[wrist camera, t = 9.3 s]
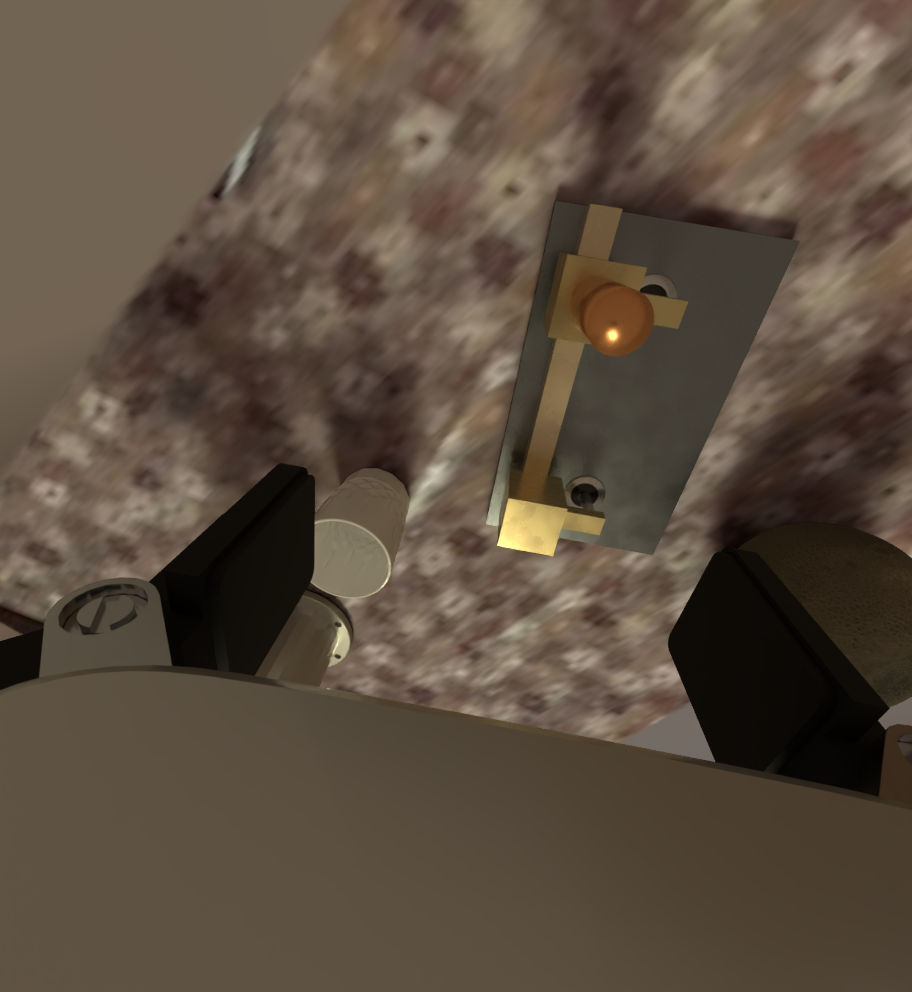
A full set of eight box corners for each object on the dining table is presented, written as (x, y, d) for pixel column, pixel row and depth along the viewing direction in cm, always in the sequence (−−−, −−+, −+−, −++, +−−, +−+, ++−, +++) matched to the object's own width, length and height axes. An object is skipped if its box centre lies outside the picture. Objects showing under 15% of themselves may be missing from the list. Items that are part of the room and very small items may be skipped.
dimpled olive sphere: (874, 566, 41) (1039, 716, 28) (721, 626, 47) (800, 774, 34) (818, 454, 37) (984, 571, 24) (656, 535, 42) (718, 666, 29)
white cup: (386, 447, 41) (351, 503, 32) (430, 513, 44) (410, 580, 35) (321, 481, 43) (273, 541, 35) (367, 541, 46) (333, 610, 38)
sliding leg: (650, 338, 32) (730, 395, 20) (541, 319, 32) (557, 365, 21) (674, 271, 30) (779, 291, 18) (557, 251, 30) (584, 258, 18)
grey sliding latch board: (650, 548, 43) (676, 607, 36) (486, 518, 43) (481, 571, 36) (791, 241, 30) (875, 241, 23) (554, 201, 30) (566, 190, 23)
